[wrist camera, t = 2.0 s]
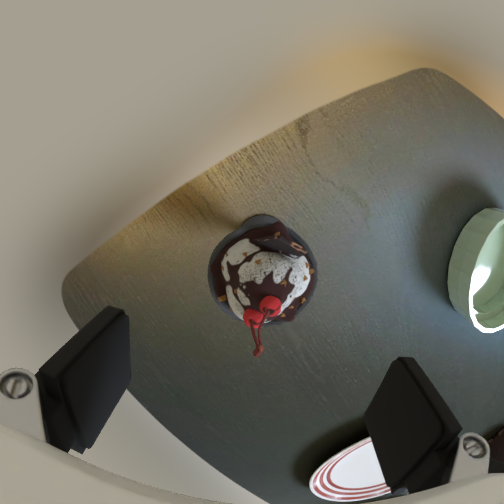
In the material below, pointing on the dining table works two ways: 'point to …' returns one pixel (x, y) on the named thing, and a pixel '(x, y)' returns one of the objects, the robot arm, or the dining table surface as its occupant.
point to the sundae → (262, 274)
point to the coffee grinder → (497, 446)
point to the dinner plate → (350, 475)
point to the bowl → (479, 271)
